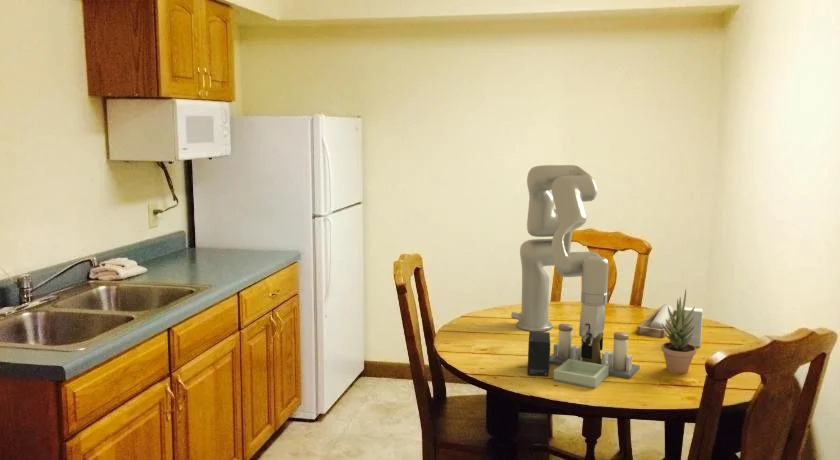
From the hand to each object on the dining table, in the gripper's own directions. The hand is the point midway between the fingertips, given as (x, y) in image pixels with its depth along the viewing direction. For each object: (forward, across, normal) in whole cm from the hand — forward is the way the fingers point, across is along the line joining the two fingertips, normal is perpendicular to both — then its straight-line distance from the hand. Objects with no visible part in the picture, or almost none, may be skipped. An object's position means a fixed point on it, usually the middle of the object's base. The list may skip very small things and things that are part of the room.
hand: (591, 353), depth 219 cm
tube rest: (+4, -56, +7) cm, 57 cm away
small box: (+4, +12, -12) cm, 18 cm away
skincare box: (+4, -38, +21) cm, 44 cm away
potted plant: (+4, -10, +23) cm, 25 cm away
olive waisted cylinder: (+4, 0, 0) cm, 4 cm away
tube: (+4, -56, +7) cm, 57 cm away
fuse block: (+4, 0, 0) cm, 4 cm away
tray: (+4, +12, +1) cm, 13 cm away
